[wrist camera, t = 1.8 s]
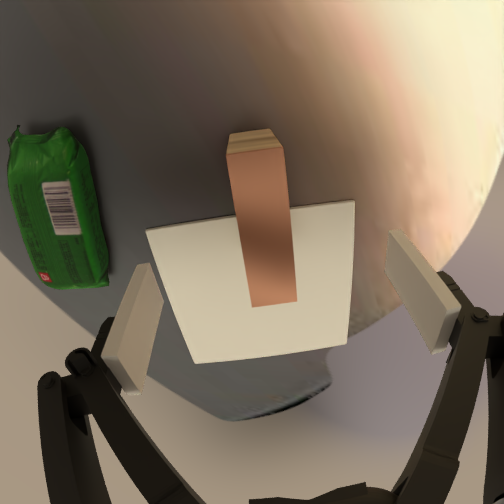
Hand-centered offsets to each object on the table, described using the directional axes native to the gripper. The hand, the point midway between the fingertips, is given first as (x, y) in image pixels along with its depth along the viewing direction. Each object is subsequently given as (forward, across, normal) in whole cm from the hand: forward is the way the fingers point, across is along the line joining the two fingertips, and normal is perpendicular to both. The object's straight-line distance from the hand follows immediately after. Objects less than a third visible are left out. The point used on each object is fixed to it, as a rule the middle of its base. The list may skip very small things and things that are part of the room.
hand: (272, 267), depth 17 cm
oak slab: (+10, 0, 0) cm, 10 cm away
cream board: (+11, -1, -10) cm, 15 cm away
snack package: (+11, -17, +2) cm, 20 cm away
